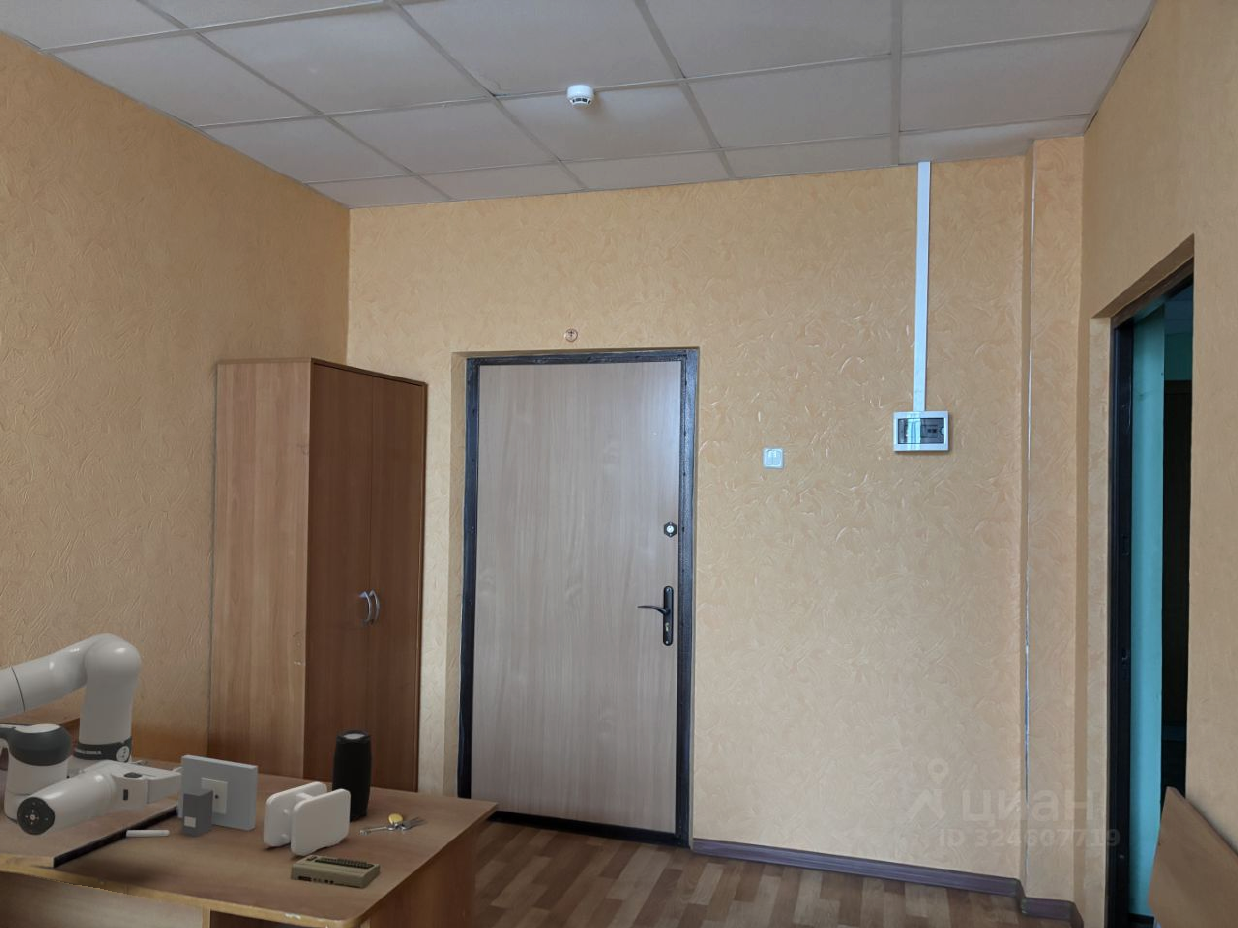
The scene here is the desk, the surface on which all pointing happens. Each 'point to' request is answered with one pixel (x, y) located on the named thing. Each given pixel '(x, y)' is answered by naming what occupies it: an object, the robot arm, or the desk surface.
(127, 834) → the white rod
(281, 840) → the organizer
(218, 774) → the outlet plate
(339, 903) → the desk surface
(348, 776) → the portable speaker
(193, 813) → the block
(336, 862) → the computer
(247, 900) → the desk surface
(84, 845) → the desk surface
